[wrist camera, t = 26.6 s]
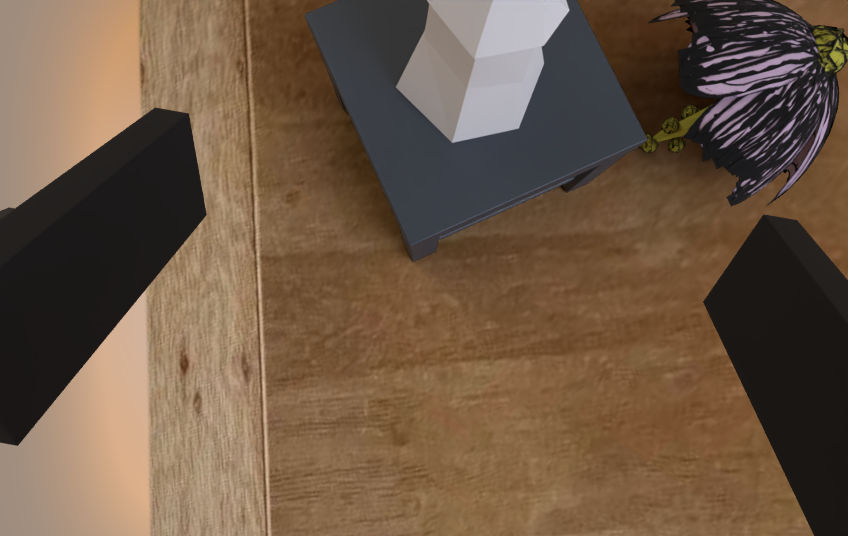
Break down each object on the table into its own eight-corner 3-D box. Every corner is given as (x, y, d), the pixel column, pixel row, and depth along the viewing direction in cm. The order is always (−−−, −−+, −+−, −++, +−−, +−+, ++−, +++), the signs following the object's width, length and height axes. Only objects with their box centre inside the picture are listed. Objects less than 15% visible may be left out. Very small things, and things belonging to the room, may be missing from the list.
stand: (332, 89, 36) (303, 13, 27) (506, 14, 37) (535, -83, 28) (412, 264, 35) (409, 246, 26) (590, 183, 35) (648, 139, 26)
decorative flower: (967, 177, 26) (748, 100, 21) (759, 255, 36) (583, 214, 32) (887, -24, 31) (699, -117, 27) (726, 94, 41) (571, 41, 37)
